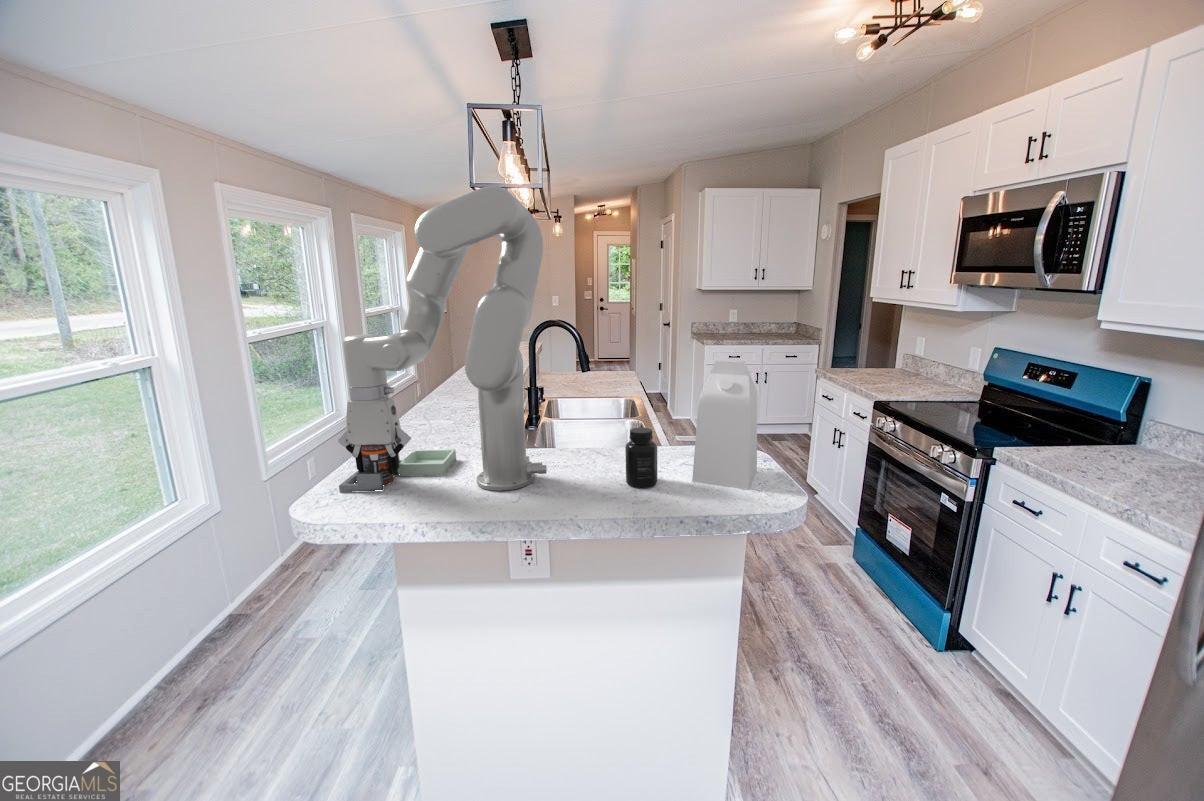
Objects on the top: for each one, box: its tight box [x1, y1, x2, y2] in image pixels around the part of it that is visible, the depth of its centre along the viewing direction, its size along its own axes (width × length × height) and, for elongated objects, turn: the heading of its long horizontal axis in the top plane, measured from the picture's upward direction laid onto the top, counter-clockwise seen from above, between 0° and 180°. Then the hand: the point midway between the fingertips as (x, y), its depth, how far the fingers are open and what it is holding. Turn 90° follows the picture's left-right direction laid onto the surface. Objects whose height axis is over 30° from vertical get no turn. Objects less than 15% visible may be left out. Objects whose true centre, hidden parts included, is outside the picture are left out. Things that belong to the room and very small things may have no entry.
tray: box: [399, 449, 457, 477], centre depth 121 cm, size 10×10×3 cm
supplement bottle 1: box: [361, 445, 395, 486], centre depth 111 cm, size 6×6×11 cm
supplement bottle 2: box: [624, 427, 658, 489], centre depth 108 cm, size 7×7×12 cm
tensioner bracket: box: [338, 468, 400, 493], centre depth 112 cm, size 9×10×4 cm
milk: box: [691, 359, 758, 491], centre depth 110 cm, size 12×12×26 cm
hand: (378, 471), depth 112 cm, fingers closed on supplement bottle 1, 6 cm apart
